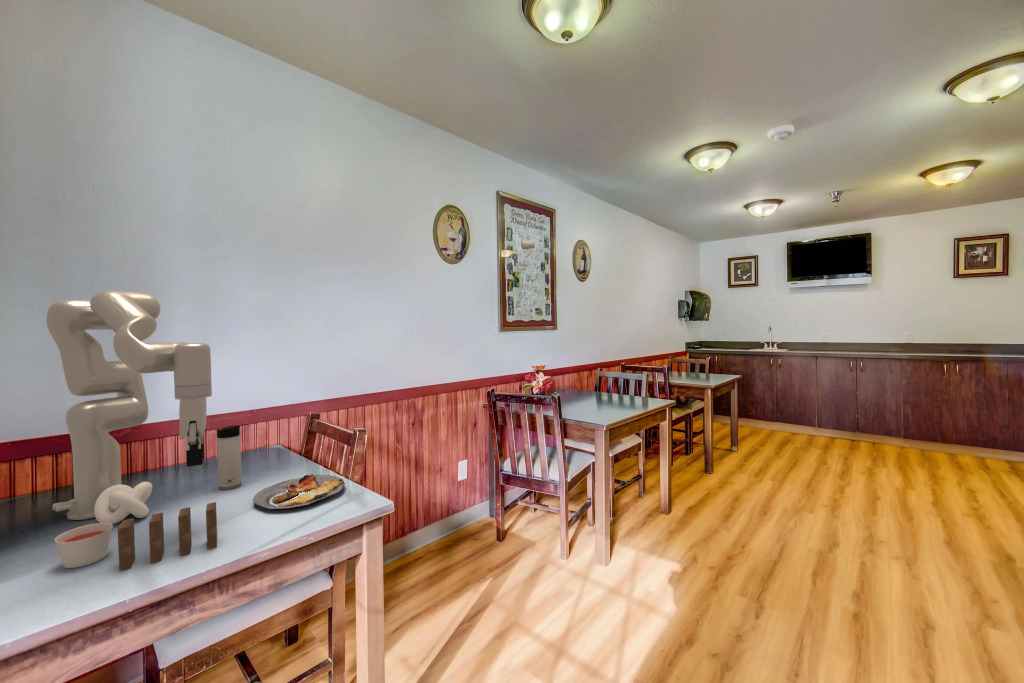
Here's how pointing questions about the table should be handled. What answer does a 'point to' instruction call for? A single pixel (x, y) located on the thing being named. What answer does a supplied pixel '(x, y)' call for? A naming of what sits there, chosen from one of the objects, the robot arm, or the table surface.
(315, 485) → the food plate
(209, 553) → the table surface
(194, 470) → the domino
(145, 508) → the white knot
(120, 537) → the domino
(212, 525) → the domino
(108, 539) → the candle
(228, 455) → the travel mug
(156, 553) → the domino
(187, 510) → the domino
